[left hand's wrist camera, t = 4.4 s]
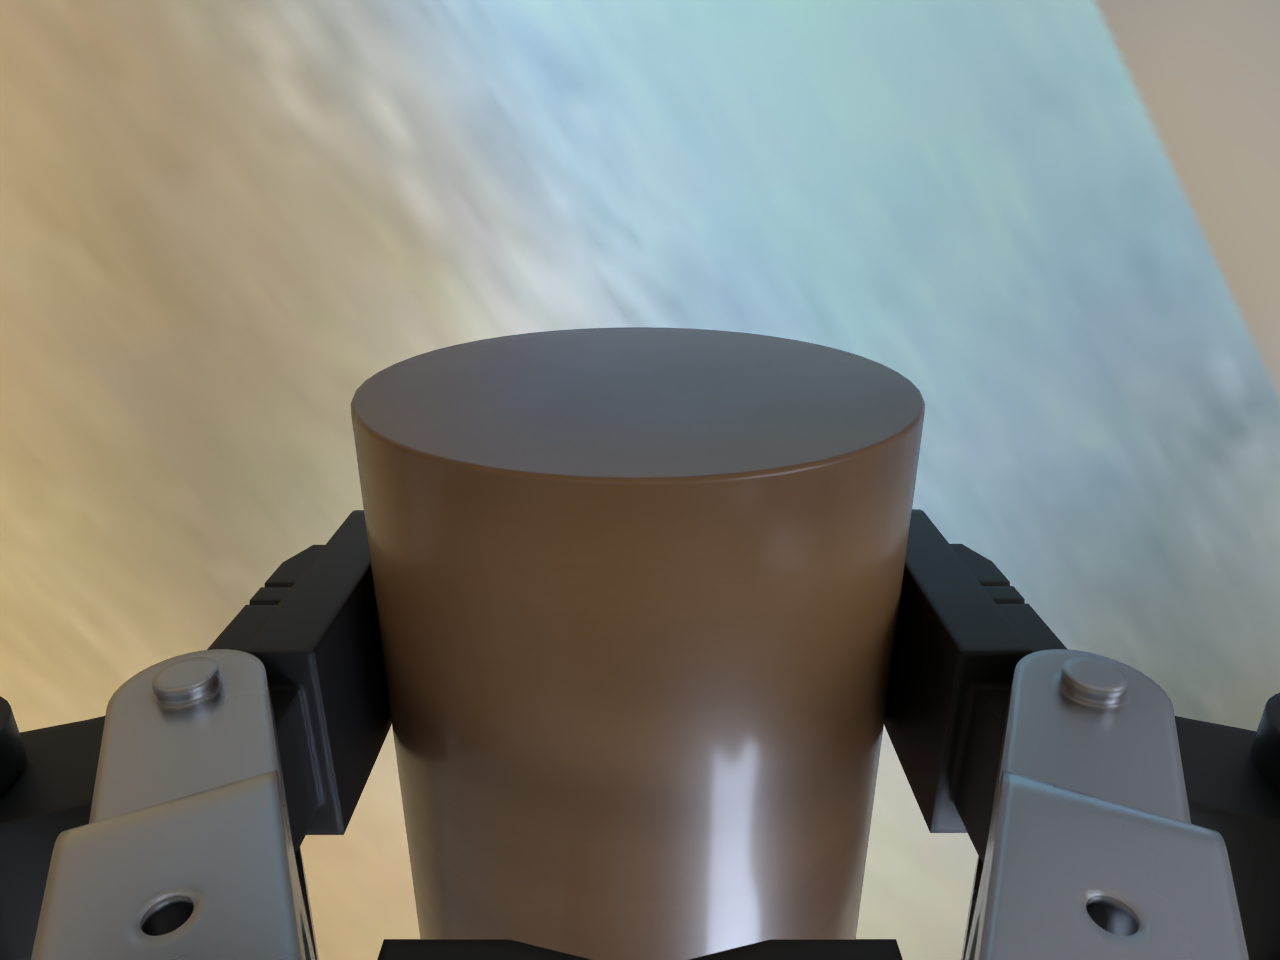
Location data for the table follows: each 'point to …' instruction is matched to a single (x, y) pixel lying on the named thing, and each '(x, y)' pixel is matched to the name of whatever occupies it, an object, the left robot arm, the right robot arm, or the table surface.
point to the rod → (637, 630)
